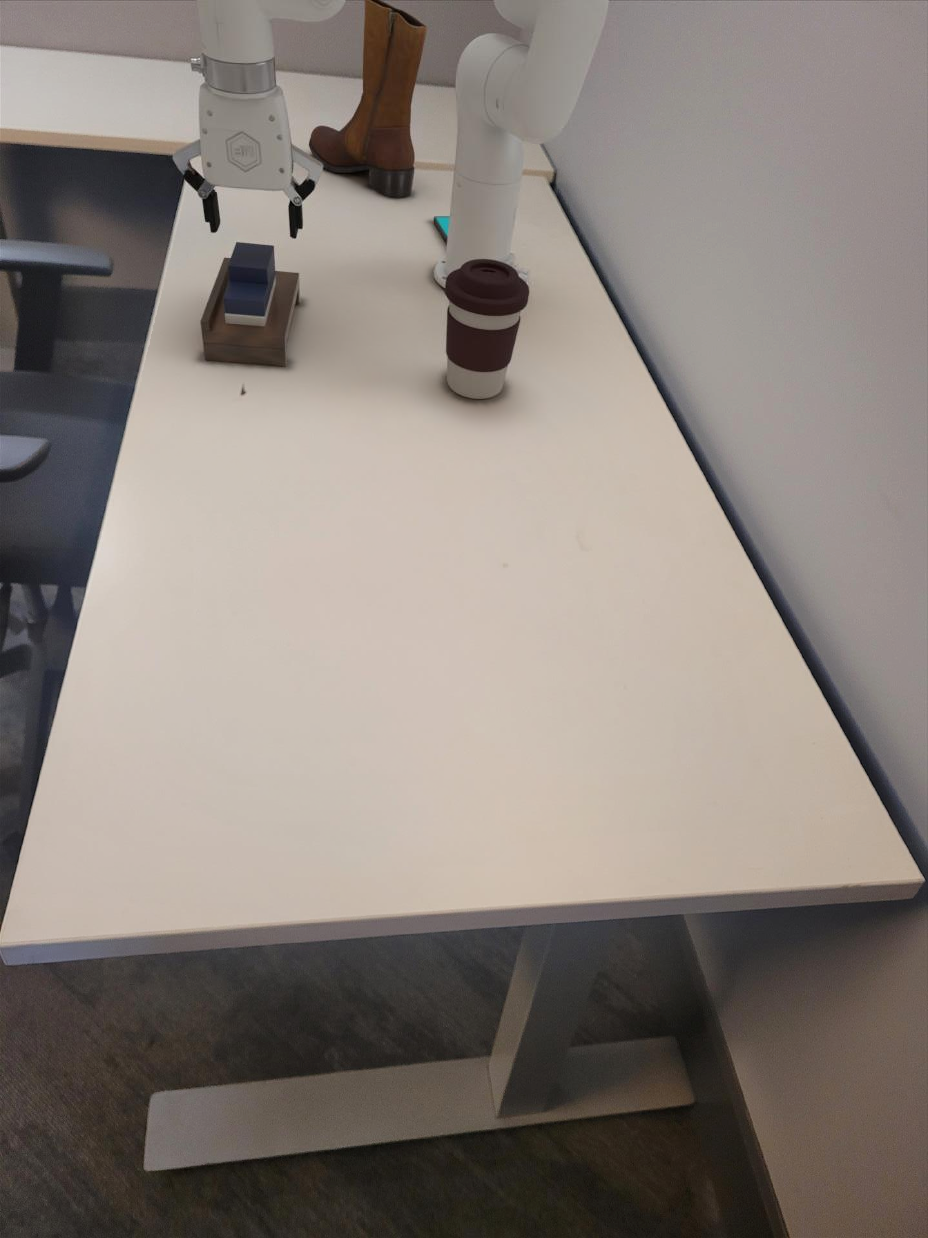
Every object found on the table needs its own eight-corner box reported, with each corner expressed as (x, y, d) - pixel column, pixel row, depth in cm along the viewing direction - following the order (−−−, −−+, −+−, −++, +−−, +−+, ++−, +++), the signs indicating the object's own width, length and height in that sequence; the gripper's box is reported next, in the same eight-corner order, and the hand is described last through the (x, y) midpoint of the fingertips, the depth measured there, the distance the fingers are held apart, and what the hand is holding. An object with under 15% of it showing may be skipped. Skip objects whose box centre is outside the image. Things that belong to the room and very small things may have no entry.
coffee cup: (488, 415, 105) (505, 299, 94) (421, 386, 108) (430, 270, 97) (526, 383, 111) (546, 270, 100) (461, 356, 114) (475, 244, 103)
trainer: (239, 280, 114) (236, 240, 110) (276, 283, 114) (274, 244, 110) (225, 323, 105) (221, 282, 102) (264, 326, 106) (262, 286, 102)
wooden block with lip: (299, 300, 120) (298, 263, 116) (285, 366, 107) (284, 328, 104) (227, 293, 119) (224, 256, 115) (204, 360, 106) (200, 321, 103)
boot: (300, 155, 159) (296, -22, 140) (342, 149, 163) (343, -23, 144) (379, 205, 147) (386, 18, 127) (421, 197, 151) (435, 16, 132)
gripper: (152, 76, 90) (178, 238, 102) (317, 90, 91) (323, 249, 104) (166, 56, 95) (189, 213, 108) (323, 70, 97) (327, 223, 109)
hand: (255, 230), depth 106 cm, fingers open, 9 cm apart
